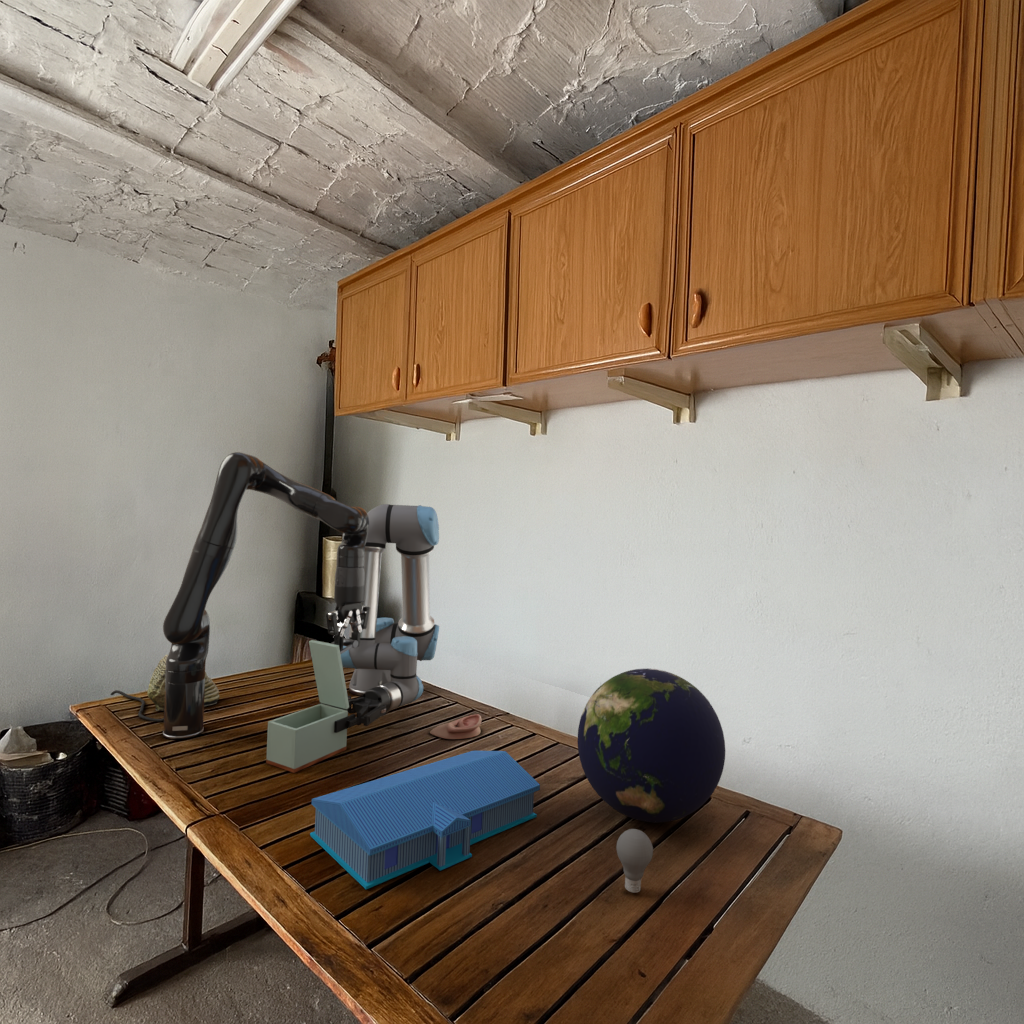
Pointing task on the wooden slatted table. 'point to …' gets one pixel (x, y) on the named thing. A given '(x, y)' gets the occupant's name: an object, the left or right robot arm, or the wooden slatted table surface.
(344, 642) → the lid
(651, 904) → the wooden slatted table surface
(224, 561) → the left robot arm
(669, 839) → the wooden slatted table surface
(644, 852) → the light bulb
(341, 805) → the model building
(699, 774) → the globe
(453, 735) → the anatomical model
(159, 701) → the fossil
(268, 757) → the chest
